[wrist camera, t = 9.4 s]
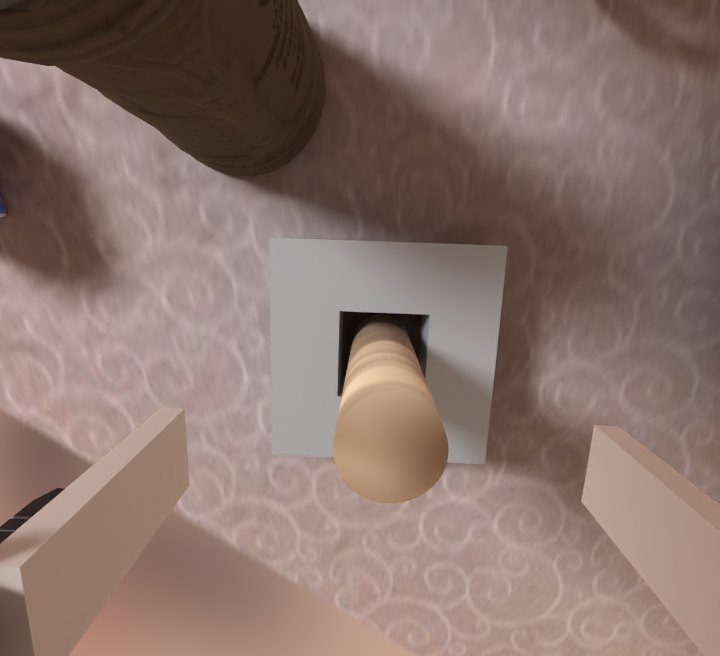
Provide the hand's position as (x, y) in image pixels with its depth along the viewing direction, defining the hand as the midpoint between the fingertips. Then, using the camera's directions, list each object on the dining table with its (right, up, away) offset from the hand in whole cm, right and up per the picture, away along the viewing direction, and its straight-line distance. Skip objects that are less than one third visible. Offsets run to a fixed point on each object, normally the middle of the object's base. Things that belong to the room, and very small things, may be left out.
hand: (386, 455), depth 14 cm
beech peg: (+1, +3, +17) cm, 17 cm away
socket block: (+1, +3, +17) cm, 17 cm away
